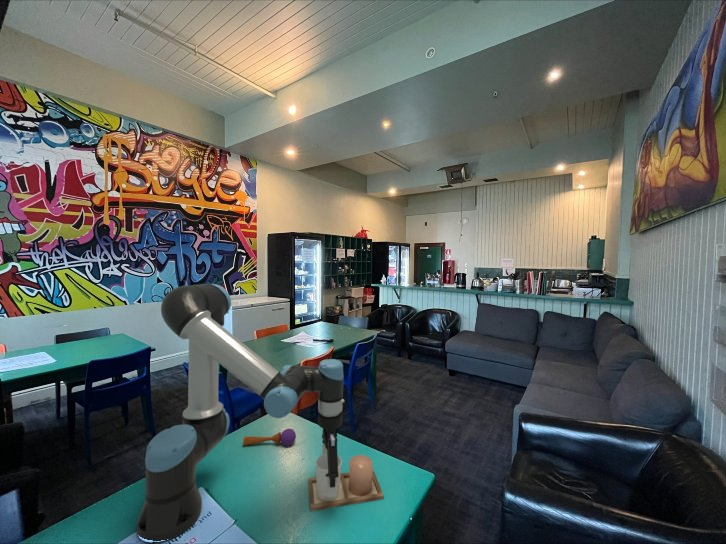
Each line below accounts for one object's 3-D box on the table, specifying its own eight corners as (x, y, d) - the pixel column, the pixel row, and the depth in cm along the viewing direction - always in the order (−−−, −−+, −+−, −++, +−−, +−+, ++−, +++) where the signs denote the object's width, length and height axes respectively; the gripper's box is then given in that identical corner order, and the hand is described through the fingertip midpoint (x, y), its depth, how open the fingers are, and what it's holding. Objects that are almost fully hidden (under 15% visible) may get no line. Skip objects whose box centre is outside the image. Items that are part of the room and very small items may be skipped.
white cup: (328, 508, 85) (329, 474, 85) (309, 495, 90) (310, 462, 90) (345, 491, 92) (346, 460, 91) (327, 480, 96) (328, 450, 96)
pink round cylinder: (351, 498, 89) (351, 472, 89) (346, 480, 96) (347, 456, 96) (374, 494, 91) (375, 468, 91) (368, 477, 98) (369, 453, 98)
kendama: (247, 430, 119) (296, 425, 121) (247, 446, 118) (297, 441, 120) (242, 436, 113) (294, 431, 115) (241, 452, 112) (294, 447, 114)
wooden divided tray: (310, 515, 84) (310, 507, 84) (308, 484, 96) (308, 478, 96) (383, 502, 89) (383, 495, 89) (373, 475, 101) (373, 468, 101)
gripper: (350, 432, 79) (348, 509, 80) (336, 393, 104) (335, 452, 104) (322, 435, 78) (320, 514, 78) (315, 394, 102) (313, 454, 102)
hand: (328, 478), depth 91 cm, fingers open, 13 cm apart
